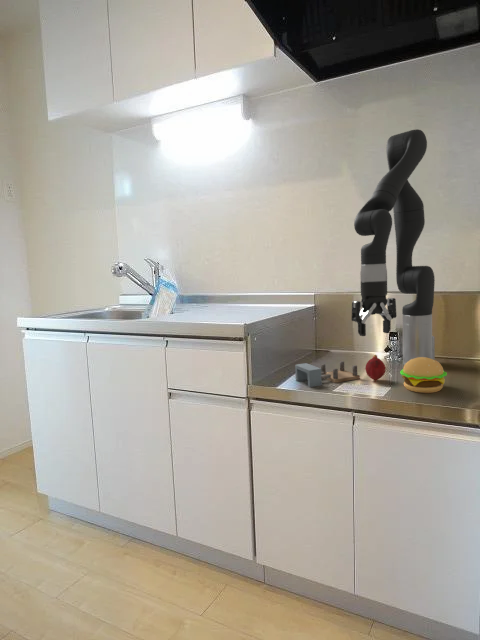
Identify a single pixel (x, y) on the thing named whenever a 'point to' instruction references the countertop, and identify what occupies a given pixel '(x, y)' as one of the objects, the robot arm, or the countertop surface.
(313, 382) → the housing
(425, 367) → the hamburger
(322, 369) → the pin seat
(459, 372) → the countertop surface
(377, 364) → the onion
